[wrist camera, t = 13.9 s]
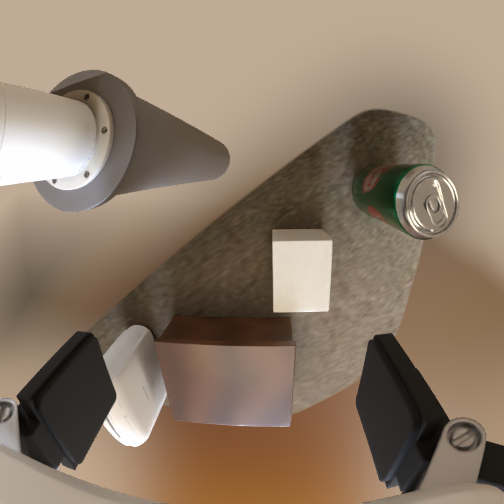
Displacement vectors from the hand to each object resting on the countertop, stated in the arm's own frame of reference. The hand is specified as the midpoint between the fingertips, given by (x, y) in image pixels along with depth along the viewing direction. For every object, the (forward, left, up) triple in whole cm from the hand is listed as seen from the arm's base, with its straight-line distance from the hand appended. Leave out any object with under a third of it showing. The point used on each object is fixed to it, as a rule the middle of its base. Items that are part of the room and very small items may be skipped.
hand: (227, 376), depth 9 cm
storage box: (-3, -14, -21) cm, 26 cm away
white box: (+4, -2, -21) cm, 21 cm away
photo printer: (-14, -15, -21) cm, 30 cm away
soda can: (+12, +5, -21) cm, 25 cm away
